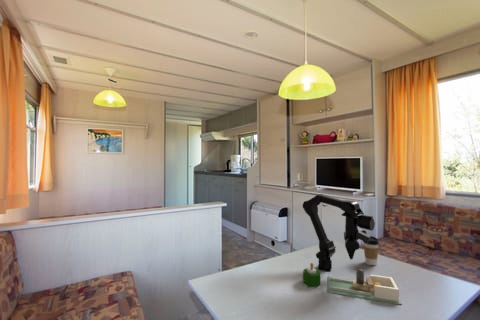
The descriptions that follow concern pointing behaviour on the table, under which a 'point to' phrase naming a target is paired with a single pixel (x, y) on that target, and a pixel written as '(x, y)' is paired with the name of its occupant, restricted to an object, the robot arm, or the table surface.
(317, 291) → the table surface
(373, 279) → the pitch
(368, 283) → the kicker
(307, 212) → the robot arm
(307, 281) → the candle
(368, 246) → the coffee cup
